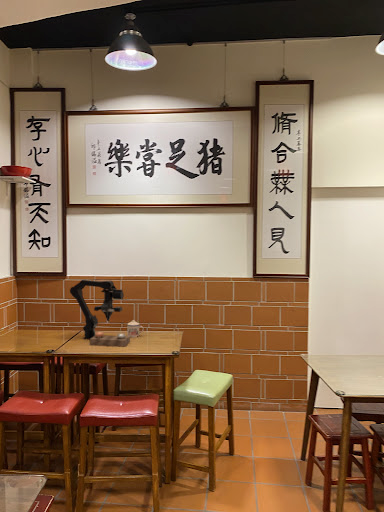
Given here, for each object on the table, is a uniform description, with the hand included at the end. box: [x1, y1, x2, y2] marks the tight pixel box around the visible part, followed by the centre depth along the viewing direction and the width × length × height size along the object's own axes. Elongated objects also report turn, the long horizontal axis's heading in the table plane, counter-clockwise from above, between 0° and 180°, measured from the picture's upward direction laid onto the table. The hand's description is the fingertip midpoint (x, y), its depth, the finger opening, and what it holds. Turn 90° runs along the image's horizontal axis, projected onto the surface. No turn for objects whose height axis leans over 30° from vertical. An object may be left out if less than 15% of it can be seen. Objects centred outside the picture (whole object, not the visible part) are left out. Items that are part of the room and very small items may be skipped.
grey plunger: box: [116, 332, 126, 339], centre depth 265 cm, size 5×5×6 cm
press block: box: [89, 334, 131, 348], centre depth 266 cm, size 24×12×4 cm, turn 83°
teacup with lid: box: [126, 319, 144, 338], centre depth 288 cm, size 12×9×12 cm
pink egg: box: [95, 331, 104, 338], centre depth 266 cm, size 5×5×6 cm
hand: (108, 321), depth 277 cm, fingers closed
